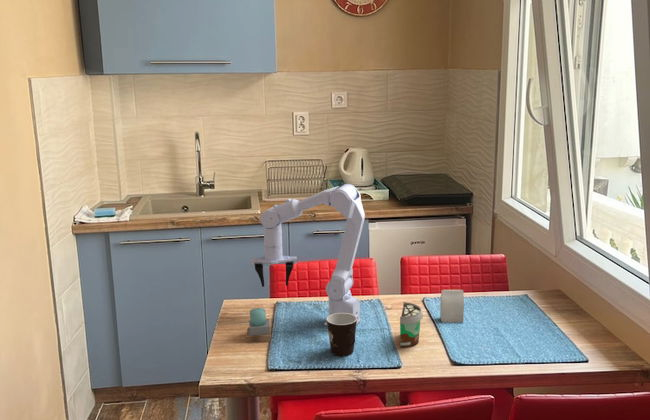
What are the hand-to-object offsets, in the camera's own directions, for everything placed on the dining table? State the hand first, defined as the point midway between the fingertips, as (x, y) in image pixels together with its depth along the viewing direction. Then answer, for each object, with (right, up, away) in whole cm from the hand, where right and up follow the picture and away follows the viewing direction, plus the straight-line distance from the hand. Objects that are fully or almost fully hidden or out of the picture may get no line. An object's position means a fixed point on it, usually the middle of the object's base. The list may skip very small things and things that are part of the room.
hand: (275, 285), depth 209 cm
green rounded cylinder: (-4, -10, -15) cm, 18 cm away
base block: (-4, -15, -14) cm, 21 cm away
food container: (+42, -15, -19) cm, 48 cm away
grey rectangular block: (+56, -11, -4) cm, 58 cm away
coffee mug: (+21, -17, -26) cm, 37 cm away
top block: (-4, -12, -14) cm, 19 cm away
